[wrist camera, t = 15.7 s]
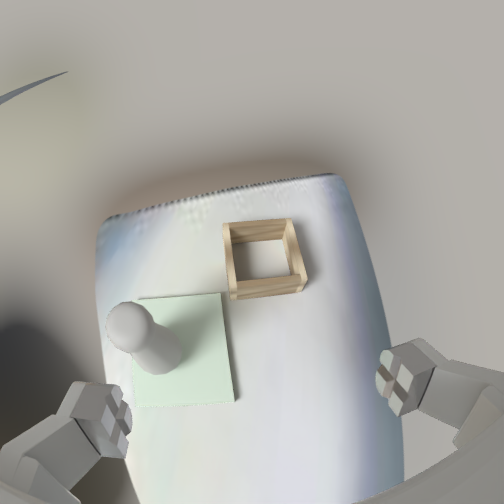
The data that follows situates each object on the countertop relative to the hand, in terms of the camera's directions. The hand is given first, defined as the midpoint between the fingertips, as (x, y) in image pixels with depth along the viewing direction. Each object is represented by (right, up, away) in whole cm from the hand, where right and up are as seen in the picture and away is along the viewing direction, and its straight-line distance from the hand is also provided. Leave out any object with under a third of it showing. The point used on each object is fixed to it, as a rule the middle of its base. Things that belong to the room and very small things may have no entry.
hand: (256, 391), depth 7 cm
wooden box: (+1, +2, +32) cm, 32 cm away
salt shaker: (-11, -8, +24) cm, 27 cm away
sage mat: (-9, -8, +25) cm, 28 cm away
